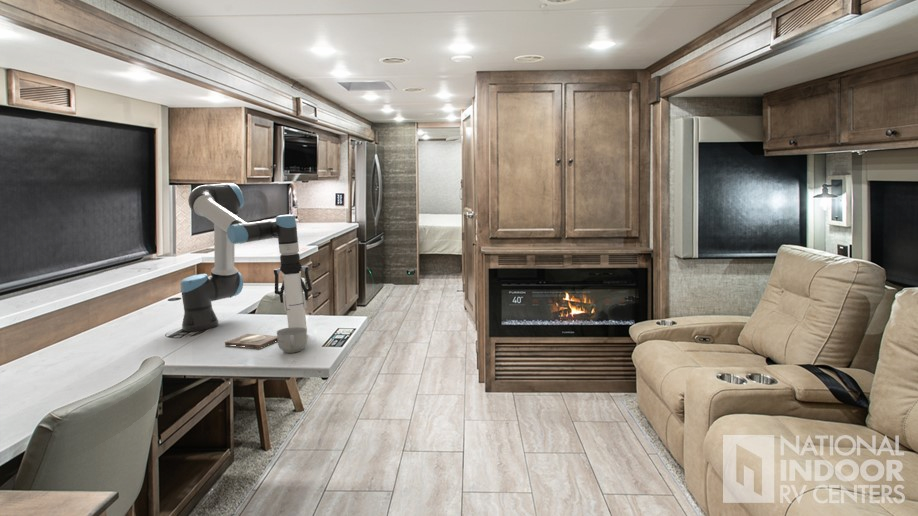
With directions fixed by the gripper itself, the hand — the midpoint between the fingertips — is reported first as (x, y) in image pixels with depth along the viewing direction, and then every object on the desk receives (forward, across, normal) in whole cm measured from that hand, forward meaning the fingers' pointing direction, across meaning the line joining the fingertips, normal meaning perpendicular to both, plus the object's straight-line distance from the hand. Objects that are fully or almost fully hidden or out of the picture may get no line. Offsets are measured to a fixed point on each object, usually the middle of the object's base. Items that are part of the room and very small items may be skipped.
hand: (295, 309), depth 246 cm
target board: (+11, -17, -3) cm, 21 cm away
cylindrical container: (+10, 0, 0) cm, 10 cm away
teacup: (+11, 0, -22) cm, 25 cm away
